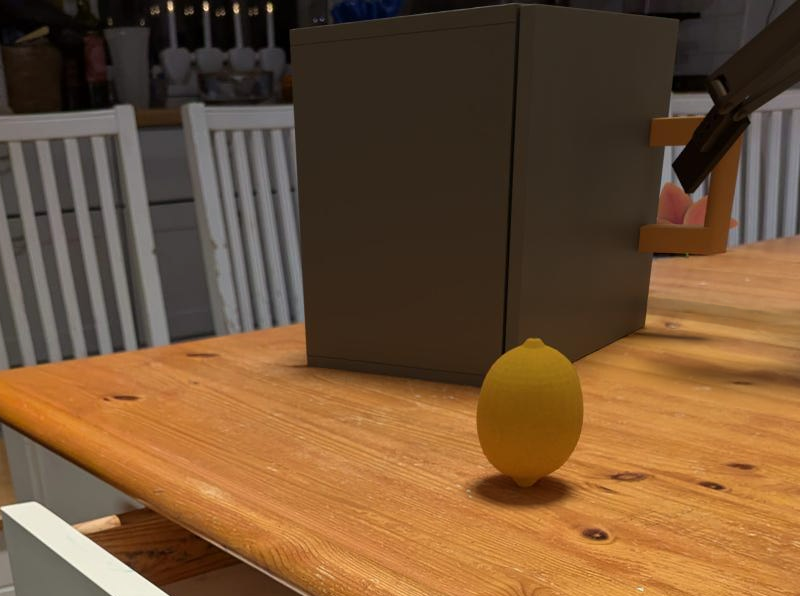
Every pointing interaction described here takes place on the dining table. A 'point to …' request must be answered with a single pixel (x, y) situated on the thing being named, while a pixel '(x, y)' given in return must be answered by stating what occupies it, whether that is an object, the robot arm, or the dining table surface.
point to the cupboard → (407, 190)
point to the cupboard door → (596, 176)
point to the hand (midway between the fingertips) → (751, 173)
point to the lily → (682, 208)
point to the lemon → (530, 412)
